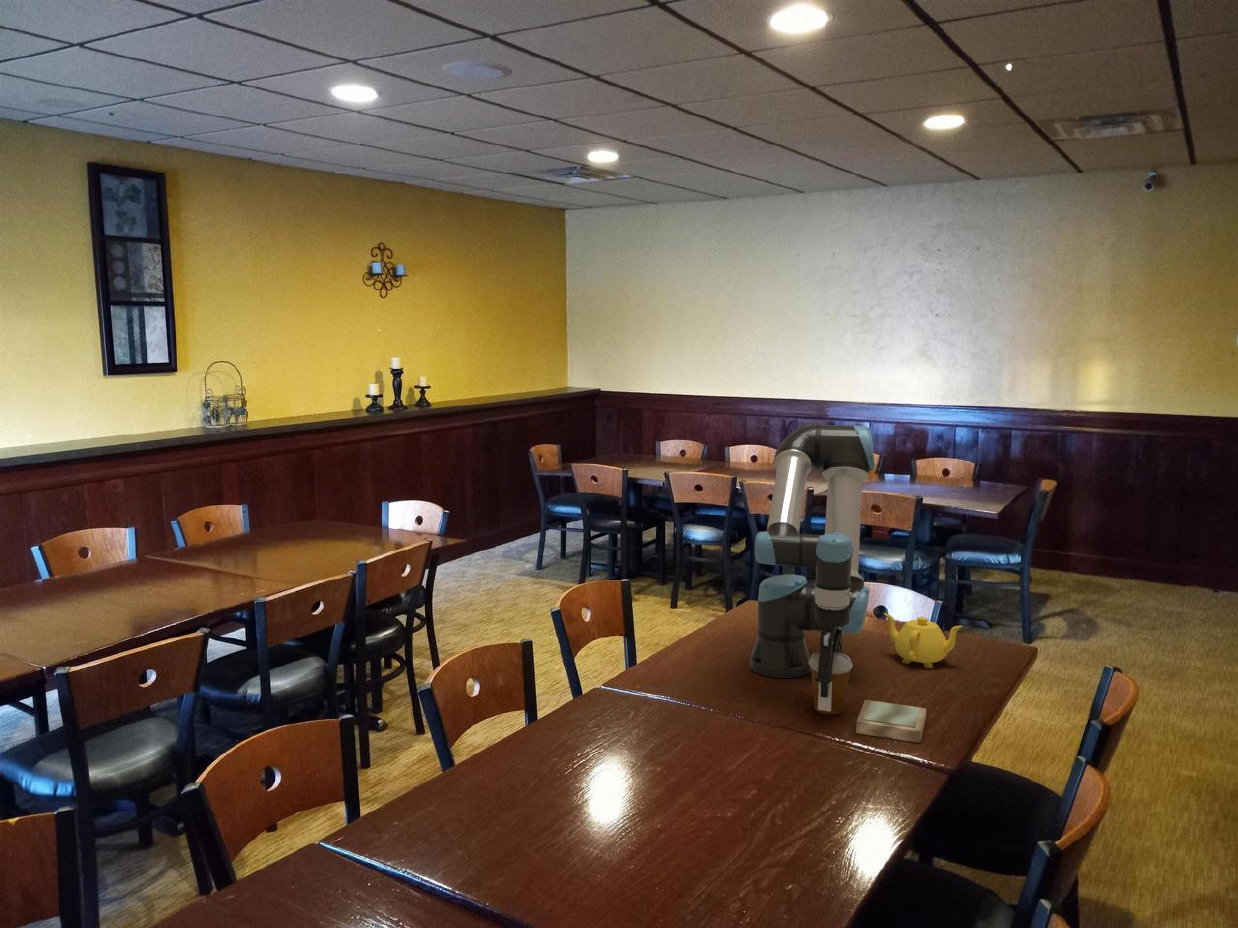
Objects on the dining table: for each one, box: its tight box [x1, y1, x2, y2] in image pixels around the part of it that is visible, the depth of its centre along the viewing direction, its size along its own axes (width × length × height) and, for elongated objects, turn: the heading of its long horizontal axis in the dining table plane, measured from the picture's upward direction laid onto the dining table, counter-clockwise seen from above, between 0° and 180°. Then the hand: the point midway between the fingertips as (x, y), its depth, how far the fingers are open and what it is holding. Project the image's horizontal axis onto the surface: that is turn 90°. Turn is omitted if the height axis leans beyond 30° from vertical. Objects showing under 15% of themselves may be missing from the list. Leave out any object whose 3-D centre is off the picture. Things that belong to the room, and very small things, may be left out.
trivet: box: [855, 699, 927, 744], centre depth 200 cm, size 13×13×3 cm
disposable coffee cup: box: [809, 651, 853, 716], centre depth 209 cm, size 10×10×12 cm
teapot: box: [883, 612, 963, 669], centre depth 239 cm, size 20×15×12 cm
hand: (829, 700), depth 209 cm, fingers open, 11 cm apart
